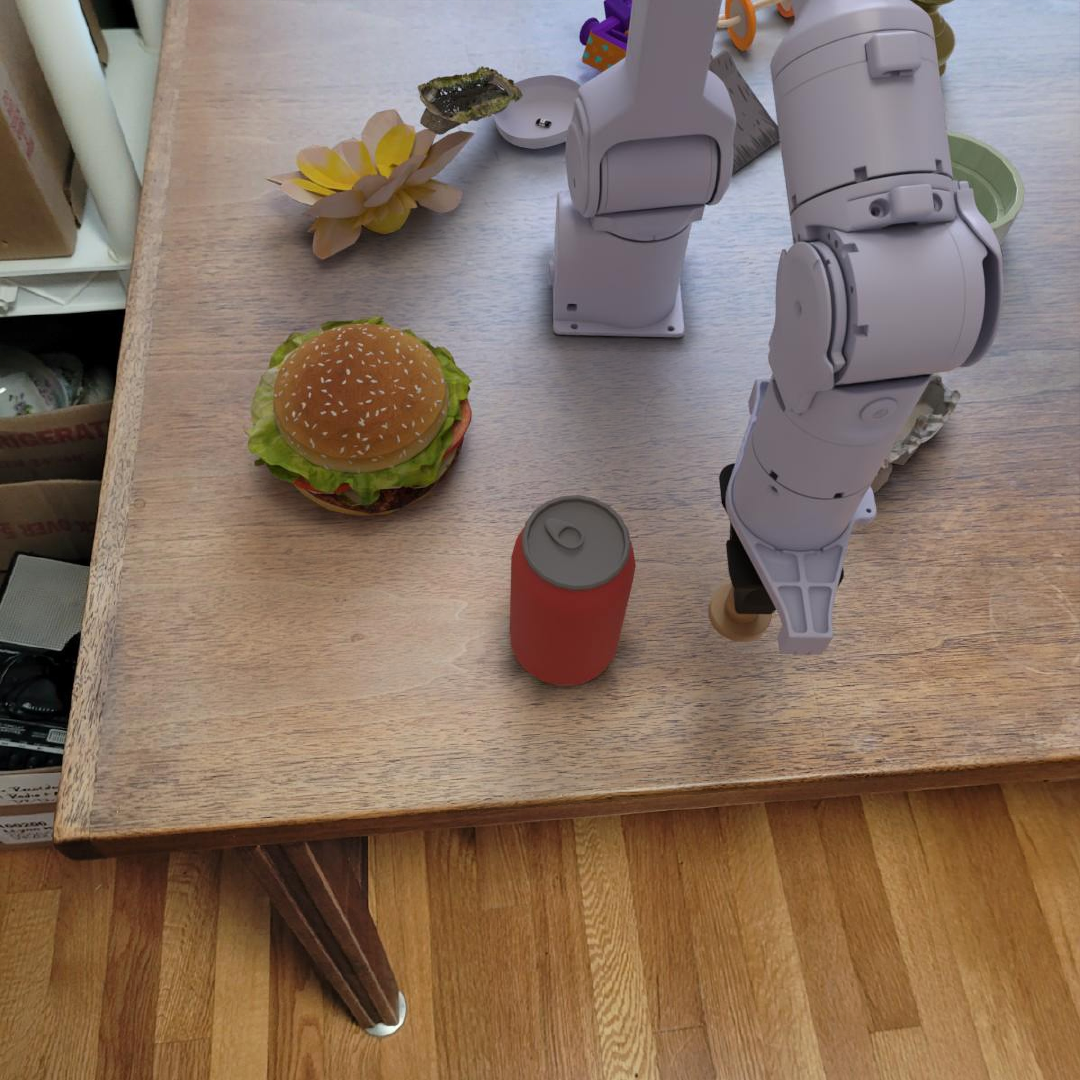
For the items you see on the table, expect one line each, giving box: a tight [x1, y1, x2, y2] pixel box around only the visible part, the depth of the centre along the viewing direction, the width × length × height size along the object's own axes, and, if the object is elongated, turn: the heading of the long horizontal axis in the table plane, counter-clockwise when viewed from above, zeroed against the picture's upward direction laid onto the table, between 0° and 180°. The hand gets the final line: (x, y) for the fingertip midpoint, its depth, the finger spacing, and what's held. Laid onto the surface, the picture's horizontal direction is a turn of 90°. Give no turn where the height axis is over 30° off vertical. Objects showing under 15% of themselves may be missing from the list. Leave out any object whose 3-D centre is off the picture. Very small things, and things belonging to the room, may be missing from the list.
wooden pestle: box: [707, 581, 773, 643], centre depth 56 cm, size 4×4×11 cm
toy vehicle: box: [578, 0, 780, 174], centre depth 84 cm, size 9×21×15 cm, turn 43°
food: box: [243, 315, 473, 517], centre depth 67 cm, size 14×14×8 cm
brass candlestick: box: [910, 0, 956, 81], centre depth 87 cm, size 7×7×10 cm
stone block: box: [417, 65, 523, 136], centre depth 79 cm, size 14×4×5 cm
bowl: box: [947, 129, 1026, 247], centre depth 80 cm, size 11×11×5 cm
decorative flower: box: [264, 108, 476, 260], centre depth 77 cm, size 15×11×10 cm
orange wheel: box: [716, 0, 794, 52], centre depth 92 cm, size 7×8×15 cm
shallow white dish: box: [492, 74, 581, 150], centre depth 86 cm, size 8×8×2 cm
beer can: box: [509, 494, 637, 687], centre depth 58 cm, size 7×7×12 cm
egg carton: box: [870, 373, 962, 494], centre depth 70 cm, size 11×8×4 cm
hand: (751, 587), depth 58 cm, fingers closed on wooden pestle, 2 cm apart
